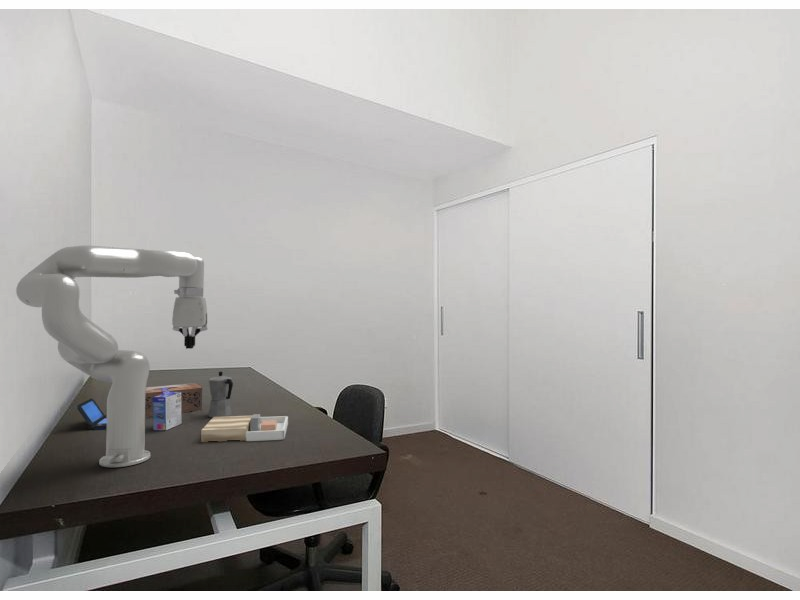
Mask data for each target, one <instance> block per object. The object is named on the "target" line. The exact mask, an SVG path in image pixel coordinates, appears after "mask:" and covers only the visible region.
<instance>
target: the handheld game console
mask: <svg viewBox="0 0 800 600" xmlns="http://www.w3.org/2000/svg"><path fill="white" fill-rule="evenodd" d="M76 409H77V410H78V411H79V413H80V415H81V416H82V417H83V419H84V420H85V421H86V423H87V424H88V430H90V431H92V430H91V429H94V430H107V414H104V412H103V411H102V410H101V408H100V407H99V405H98V403H97V402H96V401H95V399H93V398H89V399H87V400H85V401H83V402H82V403H79V404H78V405H76Z"/></svg>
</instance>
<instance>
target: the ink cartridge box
mask: <svg viewBox="0 0 800 600" xmlns="http://www.w3.org/2000/svg"><path fill="white" fill-rule="evenodd" d="M165 389H166V390H167V391H165V392H164V391H163V390H165ZM161 391H162V393H163V394H161V395H158V396H155V397H153V418H152V419H153V420H152V422H153V425H152V427H153V428H152V429H153V431H164V430H165V431H168V430H170V429H172V428H174V427H177V426H179V425H181V424H182V413H181V392H169V390H168V388H167V387H165V388H161Z"/></svg>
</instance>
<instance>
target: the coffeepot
mask: <svg viewBox="0 0 800 600" xmlns="http://www.w3.org/2000/svg"><path fill="white" fill-rule="evenodd" d="M223 374H224V373H223V371H218V375H217V376H214V377H211V378H208V384H209V391H210V396H211V400H210V403H209V404H210V405H209V409H208V417H209V418H211V419H212V418H213V417H226V416H233V414H232V408H231V403H230V399H231V396H232V395H231V394H232V390H233V387H234V386H233V385H234V382H233V377H230V376H226V375H223Z"/></svg>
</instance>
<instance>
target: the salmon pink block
mask: <svg viewBox="0 0 800 600" xmlns="http://www.w3.org/2000/svg"><path fill="white" fill-rule="evenodd" d="M276 428H277V420H273V421H262V424H261V431H273V430H276Z"/></svg>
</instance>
